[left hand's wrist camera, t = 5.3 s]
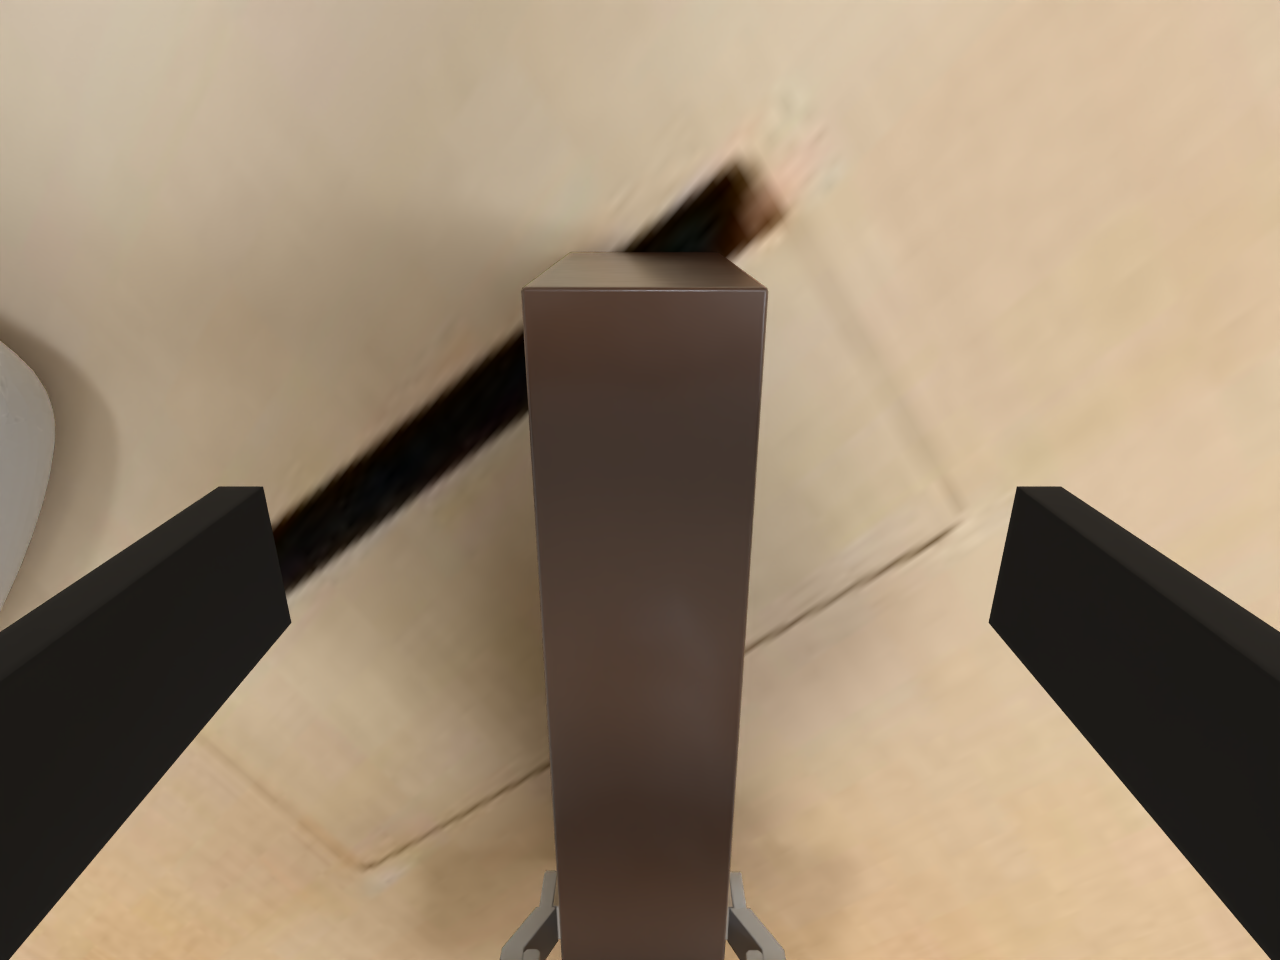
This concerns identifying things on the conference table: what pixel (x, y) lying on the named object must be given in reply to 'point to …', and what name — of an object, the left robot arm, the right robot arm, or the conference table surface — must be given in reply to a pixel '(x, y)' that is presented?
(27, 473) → the projector
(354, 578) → the conference table surface
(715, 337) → the beam
